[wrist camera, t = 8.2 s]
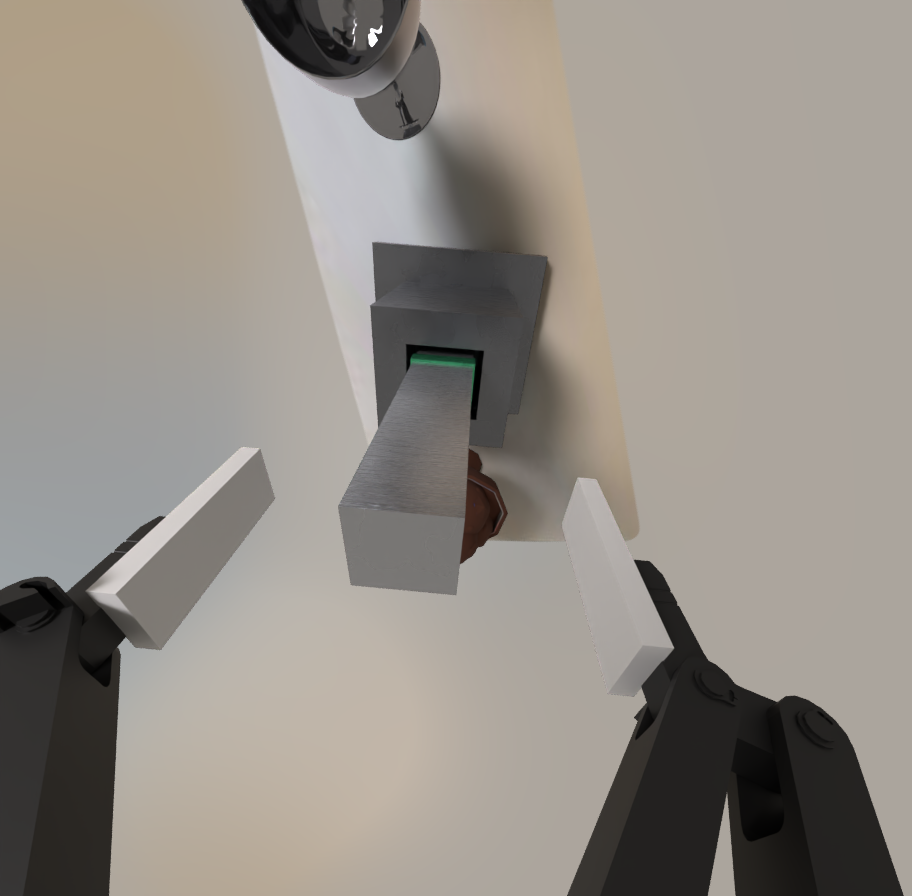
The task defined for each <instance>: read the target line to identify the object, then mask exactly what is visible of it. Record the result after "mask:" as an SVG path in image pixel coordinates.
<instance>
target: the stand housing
mask: <svg viewBox="0 0 912 896" xmlns="http://www.w3.org/2000/svg"><path fill="white" fill-rule="evenodd" d="M372 244H373V262H374V280H375V297H376V302H375V303H373V304H372V305H370V307H371V322H372V338H373V353H374V369H375V384H376V400H377V415H378V428H379V426H380V424H381V422H382V420H383V418H384V416H385V414H386V412H387V410H388V408H389V406H390V405H391V403H392V401H393V399H394V397H395V395H396V393H397V391H398V389H399V387H400V385H401V383H402V381H403V379H404V377H405V375H406V373H407V371H408V370H409V368H410V366H411V357H412V355H413V353H416V354H417V352H418V350H419V348H420V346H421V345H424V346H436V347H447V348H459V349H471V350H474V352H473V358H474V359H475V372H474V382H473V391H472V401H471V411H470V430H469V445H476V446H487V447H499V448H502V444H503V438H504V432H505V426H506V420H507V414H508V413H510V414H518V412H519V407H520V401H521V396H522V391H523V385H524V380H525V375H526V369H527V364H528V359H529V353H530V348H531V343H532V337H533V332H534V327H535V322H536V316H537V311H538V306H539V300H540V295H541V290H542V284H543V279H544V274H545V268H546V263H547V258H548V257H547V256H542V255H530V254H517V253H505V252H493V251H481V250H469V249H457V248H445V247H432V246H420V245H408V244H396V243H384V242H372Z"/></svg>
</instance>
